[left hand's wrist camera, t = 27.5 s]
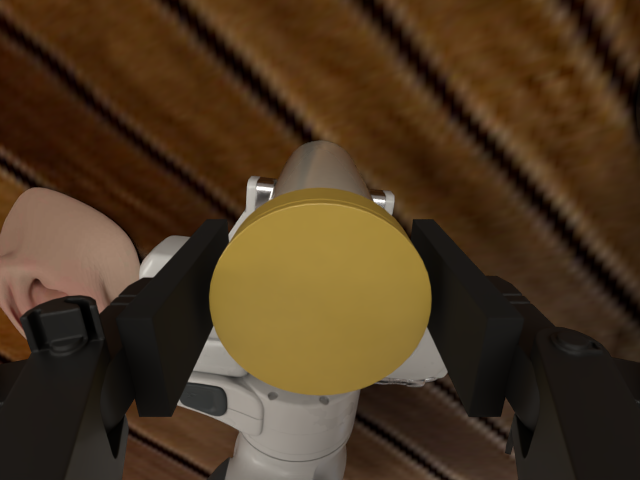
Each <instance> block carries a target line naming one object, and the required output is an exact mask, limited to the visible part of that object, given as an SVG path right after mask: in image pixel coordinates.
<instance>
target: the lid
mask: <svg viewBox="0 0 640 480" xmlns="http://www.w3.org/2000/svg"><path fill="white" fill-rule="evenodd" d="M431 302H432V295H431V285H430V280H429V276H428V272H427V270H426V268H425V265H424V263H423V260H422V259H421V257H420V255H419V254H418V252H417V250H416V249H415V247H414V245H413V244H412V242H411V241H410V239H409V237H408V236H407V234H406V233H405V231H404V230H403V228H402V227H401V226H400V224H399V223H398V222H397V221H396V219H395V218H394V217H393V216H392V215H390V214H389V213H388V212H387V211H386V210H385V209H384V208H382V207H381V206H379V205H378V204H376V203H375V202H373V201H371V200H369V199H367V198H365V197H363V196H361V195H358V194H355V193H352V192H349V191H345V190H340V189H334V188H306V189H301V190H296V191H292V192H289V193H286V194H282V195H280V196H278V197H276V198H274V199H271V200H269V201H268V202H266V203H265V204H263V205H262V206H260V207H258V208H257V209H256V210H255V211H254V212H253V213H251V214H250V215H249V216H248V217H247V218H246V219H245V220H244V222H243V223H242V224H241V225H240V226H239V228H238V229H237V231H236V233H235V234H234V236H233V237H232V239H231V240H230V242H229V244H228V245H227V247H226V248H225V250H224V252H223V253H222V255H221V256H220V258H219V260H218V262H217V265H216V267H215V269H214V272H213V276H212V279H211V283H210V292H209V306H210V313H211V318H212V322H213V325H214V328H215V331H216V334H217V336H218V337H219V339H220V341H221V343H222V345H223V346H224V348H225V349H226V351H227V352H228V353H229V355H230V356H231V357H232V358H233V359H234V360H235V361H236V362H237V363H238V364H239V365H240V366H241V367H242V368H243V369H244V370H246V371H247V372H248V373H250V374H251V375H253V376H254V377H256V378H257V379H259V380H261V381H263V382H265V383H267V384H269V385H271V386H274V387H276V388H279V389H282V390H285V391H289V392H293V393H298V394H305V395H318V396H320V395H336V394H343V393H348V392H352V391H356V390H359V389H362V388H364V387H367V386H370V385H372V384H374V383H376V382H378V381H380V380H382V379H383V378H385V377H387V376H388V375H390V374H391V373H393V372H394V371H395V370H396V369H397V368H399V367H400V366H401V365H402V364H403V363H404V362H405V361H406V360H407V359H408V358H409V357H410V356H411V354H412V353H413V352H414V350H415V349H416V348H417V346H418V344H419V343H420V341H421V339H422V337H423V335H424V333H425V330H426V328H427V325H428V322H429V317H430V313H431Z"/></svg>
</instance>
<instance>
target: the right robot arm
mask: <svg viewBox="0 0 640 480" xmlns="http://www.w3.org/2000/svg"><path fill="white" fill-rule="evenodd" d="M276 182H277V179H273V178H265V177H258V176H251V177H250V179H249V180H248V185H247V200H246V209H245V211H244V212H243V214H242V215H241V217H240V218H239V220H238V221H237V223H236V224H235V226H234V227H233V229H232V230H231V232H230V233H229V242H230V240H231V239H232V237H233V236H234V234H235V233H236V231H237V229H238V228H239V226H240V225H241V224H242V223H243V222H244V220H245V219H246V218H247V217H248V216H249V215H250V214H251V213H253V212H254V211H255V210H256V209H257V208H258V207H260V206H262V205H263V204H265V203H266V201H267V199H268V197H269V195H270V194H271V192H272V190H273V188H274V186H275V184H276ZM368 190H369V192H370V194H371V196H372V198H373V200H374V202H375V203H376V204H378V205H379V206H381V207H382V208H384V209H385V210H386V211H387V212H388V213H389V214H390V215H392V213H393V208H394V195H393V193H392V192H391V191H385V190H375V189H368ZM189 238H190V237H184V236H170V237H168V238H166V239H165V240H164V241H162V242H161V243H160V244H159V245H157V246H156V247H155V248H154V249H153V250H152V251H151V252H150V253H149V254H148V255H147V256H146V258H145V259H144V260H143V262H142V264H141V266H140V270H139V279H141V278H143V277H154V276H155V275H156V274H157V273H158V272H159V271H160V270H161V269H162V267H163V266H164V265H165V264H166V263H167V262H168V261H169V260H170V259H171V258H172V257H173V256H174V254H175V253H176V252H177V251H178V250H179V249H180V248H181V247H182V246H183V245H184V244H185V243H186V241H187V240H188V239H189ZM447 372H448V371H447V369H446V367H445V365H444V363H443V361H442V359H441V356H440V354H439V352H438V350H437V348H436V346H435V343H434V341H433V339H432V337H431V335H430V333H429V331H428V328H426V330H425V333H424V335H423V337H422V339H421V341H420V343H419V344H418V346H417V348H416V349H415V350H414V352H413V353H412V354H411V356H410V357H409V358H408V359H407V360H406V361H405V362H404V363H403V364H402V365H401V366H400V367H399V368H397V369H396V370H395V371H394V372H393V373H391V374H390V375H388V376H387V377H385V378H383V379H382V380H380V381H378V382H376V383H374V384H382V385H389V384H398V385H399V384H400V385H405V386H408V387H423V386H424V385H425V382H431V381H434V380H437V379H439V378H442V377H444V376H445V375H446V374H447ZM360 390H361V389H359V390H356V391H352V392H348V393H343V394H336V395H320V396H318V395H305V394H298V393H293V392H289V391H285V390H282V389H279V388H276V387H274V386H271V385H269V384H267V383H265V382H263V381H261V380H259V379H257V378H256V377H254V376H253V375H251V374H250V373H248V372H247V371H246V370H244V369H243V368H242V367H241V366H240V365H239V364H238V363H237V362H236V361H235V360H234V359H233V358H232V357H231V356H230V355H229V353H228V352H227V351H226V349H225V348H224V346H223V345H222V343H221V341H220V339H219V337H218V336H217V334H216V331H215V328H214V326H213V328H212V331H211V333H210V335H209V337H208V339H207V341H206V343H205V346H204V348H203V350H202V352H201V354H200V356H199V359H198V361H197V363H196V365H195V367H194V369H193V371H192V374H191V376H190V378H189V380H188V382H187V384H186V387H185V389H184V391H183V393H182V395H181V397H180V399H179V402H178V404H177V405H179V406H182V407H185V408H188V409H191V410H194V411H197V412H199V413H202V414H205V415H208V416H210V417H212V418H215V419H217V420H220V421H222V422H224V423H226V424H228V425H230V426H232V427H234V428H236V429H237V430H239V434H238V436H237V439H236V444H235V449H234V457H233V458H230V457H229V458H227V459H226V460H225V461H224V462H222V463H221V464H220V465H219V466H218V467H217V469H216V470H215V471H214V472H213V473H212V474H211V475H210V477H209V478H208V479H207V480H343V476H344V472H345V467H346V458H347V453H346V443H347V441H348V439H349V437H350V435H351V432H352V430H353V425H354V420H355V416H356V410H357V405H358V400H359V395H360Z"/></svg>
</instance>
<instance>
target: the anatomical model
mask: <svg viewBox="0 0 640 480" xmlns="http://www.w3.org/2000/svg"><path fill="white" fill-rule="evenodd" d="M0 256H1V257H0V306H1V308H2V309H3V311H4V312H5V313H6V315H7V316H8V318H9V319H10V320H11V322H12V323H13V324H14V326H15V327H16V328H17V329H18V331H19V332H20V333H21V334H22V335H23V336H24V337H25V338H26V336H25V333H24V330H23V327H22V324H21V322H20V319H19V318H20V317H21V316H22V315H23V314H24V313H25V312H27V311H28V310H30V309H32V308H33V307H35V306H37V305H39V304H42V303H44V302H47V301H50V300H52V299H56V298H61V297H65V296H74V295H83V296H90V297H92V298H93V299H95V300H96V303H97V307H98V311H99V314H100V313H101V312H102V311H103V310H104V309H105V308H106V307H107V306H108V305H110V303H111V302H112V301H113V300H114V299H115V298H116V297H118V295H119V294H120V293H121V292H122V291H123V290H124V289H125V288H126V287H127V286H128V285H130V284H132V283H134V282H136V281H138V280H139V270H140V263H139V259H138V255H137V252H136V250H135V247H134V245H133V243H132V241H131V240H130V238H129V237H128V235H127V234H126V233H125V232H124V231H123V230H122V229H121V228H120V227H119V226H118V225H117V224H116V223H115V222H113V221H112V220H111V219H109V218H108V217H107V216H105V215H104V214H102V213H100V212H99V211H97V210H96V209H94V208H92V207H90V206H88V205H86V204H84V203H82V202H80V201H78V200H76V199H74V198H72V197H69V196H67V195H65V194H62V193H59V192H57V191H54V190H50V189H47V188H31V189H28V190H27V191H25V192H24V193H23V194H22V195H21V196H20V197H19V198H18V199H17V201H16V202H15V204H14V205H13V207H12V209H11V211H10V213H9V214H8V216H7V218H6V220H5V222H4V225H3V228H2V231H1V234H0ZM26 339H27V338H26Z"/></svg>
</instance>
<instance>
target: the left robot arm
mask: <svg viewBox="0 0 640 480" xmlns="http://www.w3.org/2000/svg"><path fill="white" fill-rule="evenodd" d="M636 118H637V127H638V131H639V136H640V82H639V87H638V92H637V102H636ZM411 242H412V244H413V245H414V247H415V249H416V250H417V252H418V254H419V255H420V257H421V259H422V260H423V263H424V265H425V268H426V270H427V272H428V276H429V280H430V285H431V295H432V302H431V313H430V317H429V322H428V325H427V328H428V331H429V333H430V335H431V337H432V339H433V341H434V343H435V346H436V348H437V350H438V352H439V354H440V356H441V359H442V361H443V363H444V365H445V367H446V369H447V371H448V374H449V376H450V378H451V380H452V382H453V384H454V387H455V389H456V391H457V393H458V395H459V397H460V399H461V402H462V404H463V406H464V408H465V410H466V412H467V414H468V417H501V413H502V409H503V405H504V401H505V397H506V398H507V400H508V402H509V403H510V405H511V406H512V408H513V410H514V411H515V414H514V418H513V422H512V425H511V429H510V433H509V437H508V441H507V445H506V450H505V453H507V454H511V451H512V447H513V446H514V451H515V458H516V465H517V473H518V480H640V363H639V362H633V361H628V360H623V359H618V358H613V357H611V356H610V354H609V352H608V351H607V350H606V349H605V348H604V347H603V345H602V344H600V343H599V342H597V341H596V340H594V339H593V338H591V337H589V336H587V335H585V334H582V333H580V332H578V331H575V330H571V329H567V328H563V327H555V326H554V325H553V324H552V323H551V322H550V321H549V320H548V319H547V318H546V317H545V316H544V315H543V314H542V313H541V312H540V311H539V310H538V309H537V308H536V307H535V306H534V305H533V304H530V301H529V300H528V299H527V298H526V297H525V296H522V294H521V293H520V292H519V291H518V290H517V289H516V288H515V287H514V286H513V285H512V284H511V283H509V282H507V281H505V280H503V279H501V278H499V277H498V276H485V275H484V274H483V273H482V272H481V271H480V270H479V269H478V267H477V266H476V265H475V264H474V263H473V262H472V261H471V260H470V259H469V258H468V257H467V256H466V254H465V253H464V252H463V251H462V250H461V249H460V248H459V247H458V246H457V245H456V244H455V243H454V241H453V240H452V239H451V238H450V237H449V236H448V235H447V234H446V233H445V232H444V231H443V230H442V229H441V227H440V226H439V225H438V224H437V223H436V222H435V221H434V220H433V219H413V225H412V235H411ZM228 244H229V235H228V225H227V219H207V220H206V221H205V222H204V223H203V224H202V225H201V226H200V227H199V228H198V230H197V231H196V232H195V233H194V234H193V235H192V236H191V237H190V238H189V239H188V240H187V241H186V243H185V244H184V245H183V246H182V247H181V248H180V249H179V250H178V251H177V252H176V253H175V254H174V256H173V257H172V258H171V259H170V260H169V261H168V262H167V263H166V264H165V265H164V266H163V267H162V269H161V270H160V271H159V272H158V273H157V274H156V275H155V276H154V277H143V278H141V279H139V280H138V281H136V282H134V283H132V284H130V285H128V286H127V287H126V288H125V289H124V290H123V291H122V292H121V293H120V294H119V295H118V297H116V298H115V299H114V300H113V301H112V302H111V303H110V305H108V306H107V307H106V308H105V309H104V310H103V311H102V312H101V313H100V314H99V311H98V307H97V303H96V300H95V299H93V298H92V297H90V296H83V295H74V296H65V297H61V298H56V299H52V300H50V301H47V302H44V303H42V304H39V305H37V306H35V307H33V308H32V309H30V310H28V311H27V312H25V313H24V314H23V315H22V316H21V317H20V318H19V319H20V322H21V324H22V327H23V330H24V333H25V336H26V338H27V341H28V344H29V347H30V350H31V352H32V353H31V355H30V357H29V358H28V359H26V360H21V361H16V362H10V363H5V364H0V480H122V474H123V466H124V459H125V452H126V445H127V437H128V430H129V428H128V422H127V418H126V414H125V413H126V412H127V410H128V408H129V407H130V405H131V404H132V402H133V400H134V399H135V401H136V405H137V409H138V413H139V417H172V414H173V412H174V410H175V408H176V406H177V404H178V402H179V399H180V397H181V395H182V393H183V391H184V389H185V387H186V384H187V382H188V380H189V378H190V376H191V374H192V371H193V369H194V367H195V365H196V363H197V361H198V359H199V356H200V354H201V352H202V350H203V348H204V346H205V343H206V341H207V339H208V337H209V335H210V333H211V331H212V328H213V326H214V325H213V322H212V318H211V313H210V306H209V292H210V283H211V279H212V276H213V272H214V269H215V267H216V265H217V262H218V260H219V258H220V256H221V255H222V253H223V252H224V250H225V248H226V247H227V245H228Z"/></svg>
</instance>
